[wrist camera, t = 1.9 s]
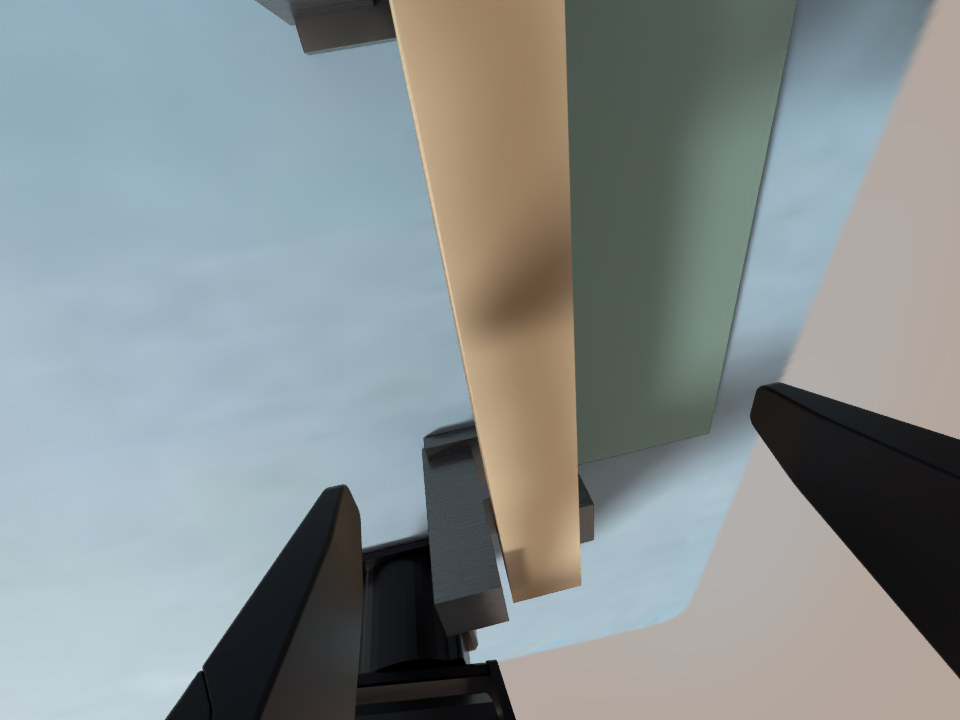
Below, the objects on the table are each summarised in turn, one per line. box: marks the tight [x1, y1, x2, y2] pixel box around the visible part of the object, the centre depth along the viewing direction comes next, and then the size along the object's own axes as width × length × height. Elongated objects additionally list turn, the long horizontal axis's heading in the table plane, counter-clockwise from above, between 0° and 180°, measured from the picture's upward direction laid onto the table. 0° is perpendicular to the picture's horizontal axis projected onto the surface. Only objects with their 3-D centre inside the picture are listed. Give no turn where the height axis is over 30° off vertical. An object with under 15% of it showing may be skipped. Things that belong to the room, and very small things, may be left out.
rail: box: [389, 0, 581, 603], centre depth 13 cm, size 3×24×3 cm, turn 9°
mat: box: [565, 0, 797, 465], centre depth 17 cm, size 8×25×1 cm, turn 9°
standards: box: [255, 0, 594, 637], centre depth 14 cm, size 7×24×8 cm, turn 9°
